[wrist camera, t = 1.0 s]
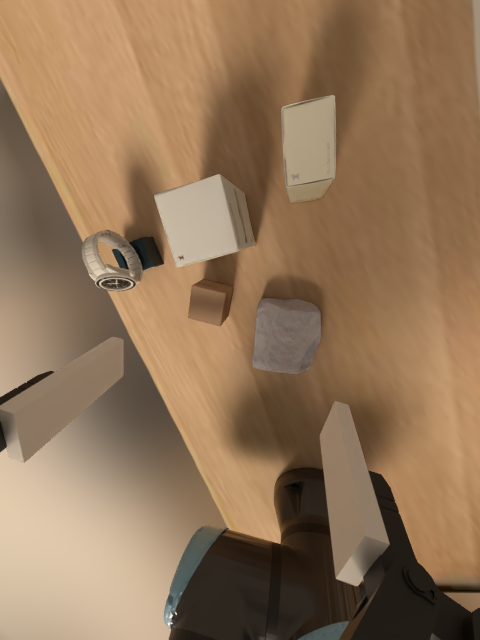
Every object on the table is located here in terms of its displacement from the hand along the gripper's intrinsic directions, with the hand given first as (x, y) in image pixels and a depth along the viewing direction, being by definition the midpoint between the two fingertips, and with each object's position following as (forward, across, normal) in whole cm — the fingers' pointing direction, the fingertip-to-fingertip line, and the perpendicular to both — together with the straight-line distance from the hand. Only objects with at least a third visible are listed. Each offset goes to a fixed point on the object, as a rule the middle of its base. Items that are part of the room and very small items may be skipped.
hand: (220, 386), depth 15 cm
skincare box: (+26, -1, -16) cm, 30 cm away
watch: (+25, +20, 0) cm, 32 cm away
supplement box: (+26, +8, -8) cm, 28 cm away
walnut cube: (+25, +7, +3) cm, 26 cm away
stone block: (+26, -5, +6) cm, 27 cm away
